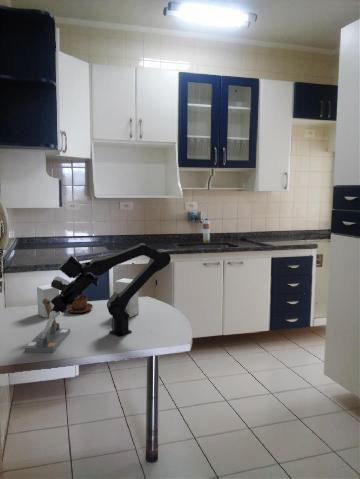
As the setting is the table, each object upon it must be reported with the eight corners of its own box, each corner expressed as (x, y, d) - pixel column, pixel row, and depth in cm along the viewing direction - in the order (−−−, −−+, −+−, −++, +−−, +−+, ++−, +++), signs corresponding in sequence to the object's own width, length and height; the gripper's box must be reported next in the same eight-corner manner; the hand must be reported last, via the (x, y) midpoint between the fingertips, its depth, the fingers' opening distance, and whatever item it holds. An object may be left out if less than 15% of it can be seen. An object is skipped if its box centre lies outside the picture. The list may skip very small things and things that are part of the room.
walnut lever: (59, 326, 161) (50, 296, 159) (57, 329, 158) (47, 298, 156) (53, 328, 161) (43, 298, 159) (50, 331, 158) (40, 300, 156)
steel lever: (46, 342, 148) (59, 311, 146) (43, 345, 145) (57, 314, 143) (39, 338, 148) (52, 308, 146) (36, 341, 145) (49, 310, 143)
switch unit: (70, 332, 162) (70, 322, 162) (53, 352, 144) (52, 341, 143) (45, 331, 163) (44, 322, 162) (25, 351, 144) (24, 341, 144)
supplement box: (60, 314, 183) (59, 286, 181) (44, 318, 179) (42, 289, 177) (53, 310, 189) (52, 283, 187) (37, 313, 184) (36, 286, 182)
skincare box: (139, 314, 185) (138, 280, 183) (129, 318, 179) (129, 283, 177) (124, 310, 189) (124, 277, 187) (115, 314, 184) (114, 280, 181)
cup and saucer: (83, 316, 182) (83, 302, 181) (60, 313, 186) (59, 300, 185) (97, 308, 193) (97, 295, 192) (75, 305, 197) (75, 293, 196)
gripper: (71, 265, 165) (45, 291, 167) (55, 276, 146) (26, 305, 149) (91, 284, 166) (65, 310, 168) (78, 298, 147) (48, 327, 149)
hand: (51, 312), depth 158 cm, fingers closed, pressing on walnut lever
